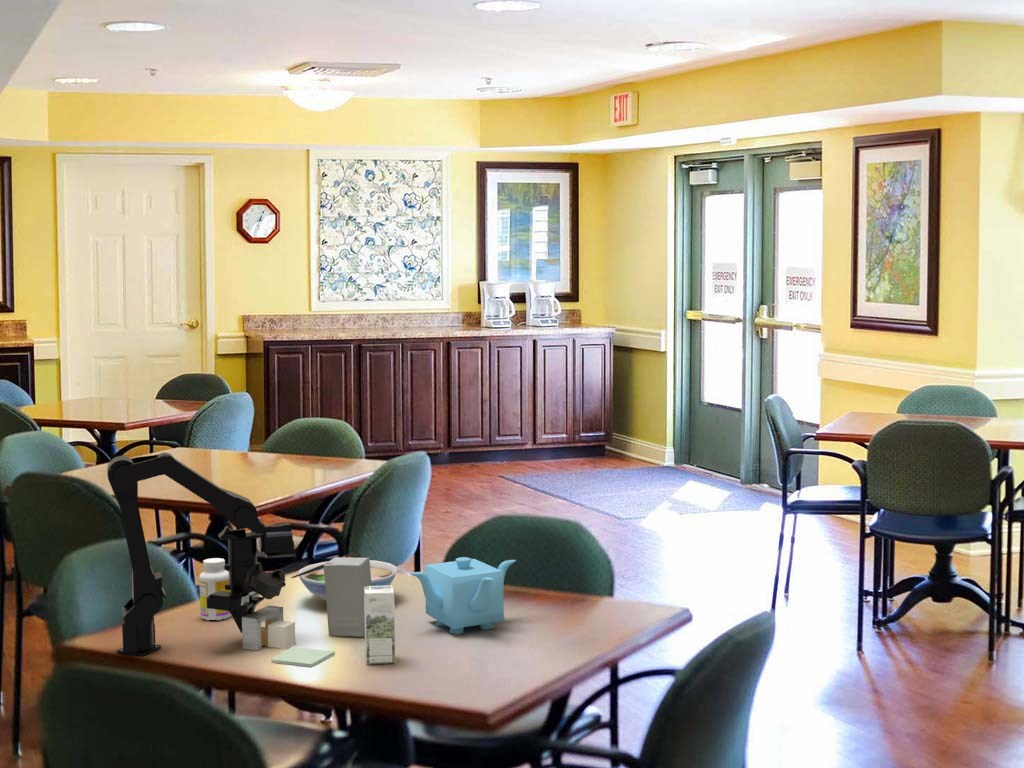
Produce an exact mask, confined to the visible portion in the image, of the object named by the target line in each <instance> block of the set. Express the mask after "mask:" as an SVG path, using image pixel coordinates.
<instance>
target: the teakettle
mask: <svg viewBox="0 0 1024 768" xmlns="http://www.w3.org/2000/svg"><path fill="white" fill-rule="evenodd" d="M516 561H517V560H516V559H508V560H507V559H506V560H504V561H502V562H501V563H500V564H499V565H498V566H497V568H496V567H494V566H491V565H489V564H487V563H485V562H483V561H480V560H478V559H476V558H470V557H467V556H462V557H457V558H455V560H454V561H447V562H438V563H429V564H425V566H424V572H423V571H415V572H414V571H412V572H409V575H411V576H414V577H416V578H417V579H418V580H419V582H420V584H421V587H422V592H423V595H424V597H425V614H426V615H427V616H429V617H431V618H433V619H435V621H436V623H434V624H435V626H437V627H446V626H447V627H448V628H450V629H449V632H450V633H449V634H451V633H453V634H452V635H461V634H464V628H469V627H475V626H479V628H480V629H481V628H482V629H481V630H492V628H493V627H494V626H493V624H496V623H501V622H503V623H504V622H505V616H504V615H505V614H504V612H505V610H504V608H505V607H504V606H505V605H504V582H505V576H506V572H507V570H508V568H509V567H510V566H511V565H512V564H514V563H515V562H516ZM493 629H494V628H493ZM460 633H461V634H460Z"/></svg>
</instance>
